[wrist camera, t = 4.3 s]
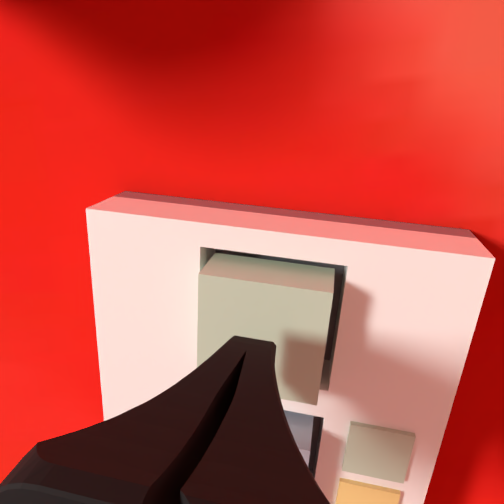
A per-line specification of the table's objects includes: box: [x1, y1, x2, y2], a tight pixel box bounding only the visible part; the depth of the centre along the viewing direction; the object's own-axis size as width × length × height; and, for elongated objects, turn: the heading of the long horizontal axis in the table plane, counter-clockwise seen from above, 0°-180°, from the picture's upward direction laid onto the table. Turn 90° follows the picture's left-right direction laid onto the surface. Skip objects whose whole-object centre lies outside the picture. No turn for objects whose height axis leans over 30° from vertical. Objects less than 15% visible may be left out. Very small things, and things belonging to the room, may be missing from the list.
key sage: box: [197, 253, 335, 406], centre depth 15 cm, size 4×4×2 cm
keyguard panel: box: [86, 191, 495, 504], centre depth 19 cm, size 14×20×3 cm
